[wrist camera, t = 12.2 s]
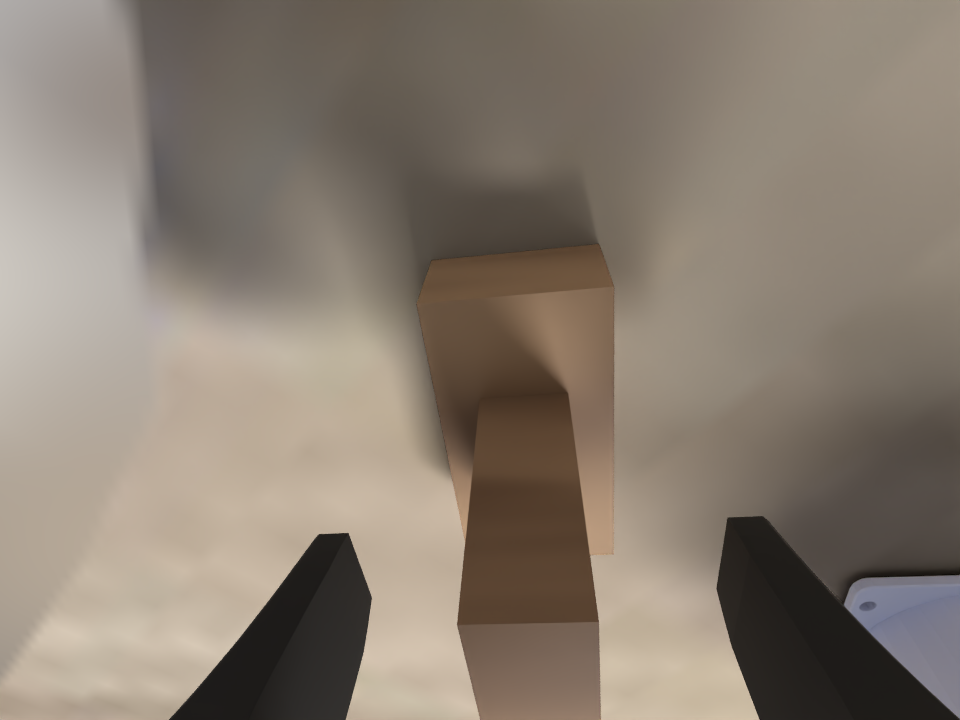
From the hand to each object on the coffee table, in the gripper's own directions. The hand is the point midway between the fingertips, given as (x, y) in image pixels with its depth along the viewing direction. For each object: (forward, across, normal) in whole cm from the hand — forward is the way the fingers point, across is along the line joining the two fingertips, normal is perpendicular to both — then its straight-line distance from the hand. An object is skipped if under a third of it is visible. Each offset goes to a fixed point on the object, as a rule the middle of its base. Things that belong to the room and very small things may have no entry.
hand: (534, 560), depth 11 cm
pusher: (+6, 0, 0) cm, 6 cm away
